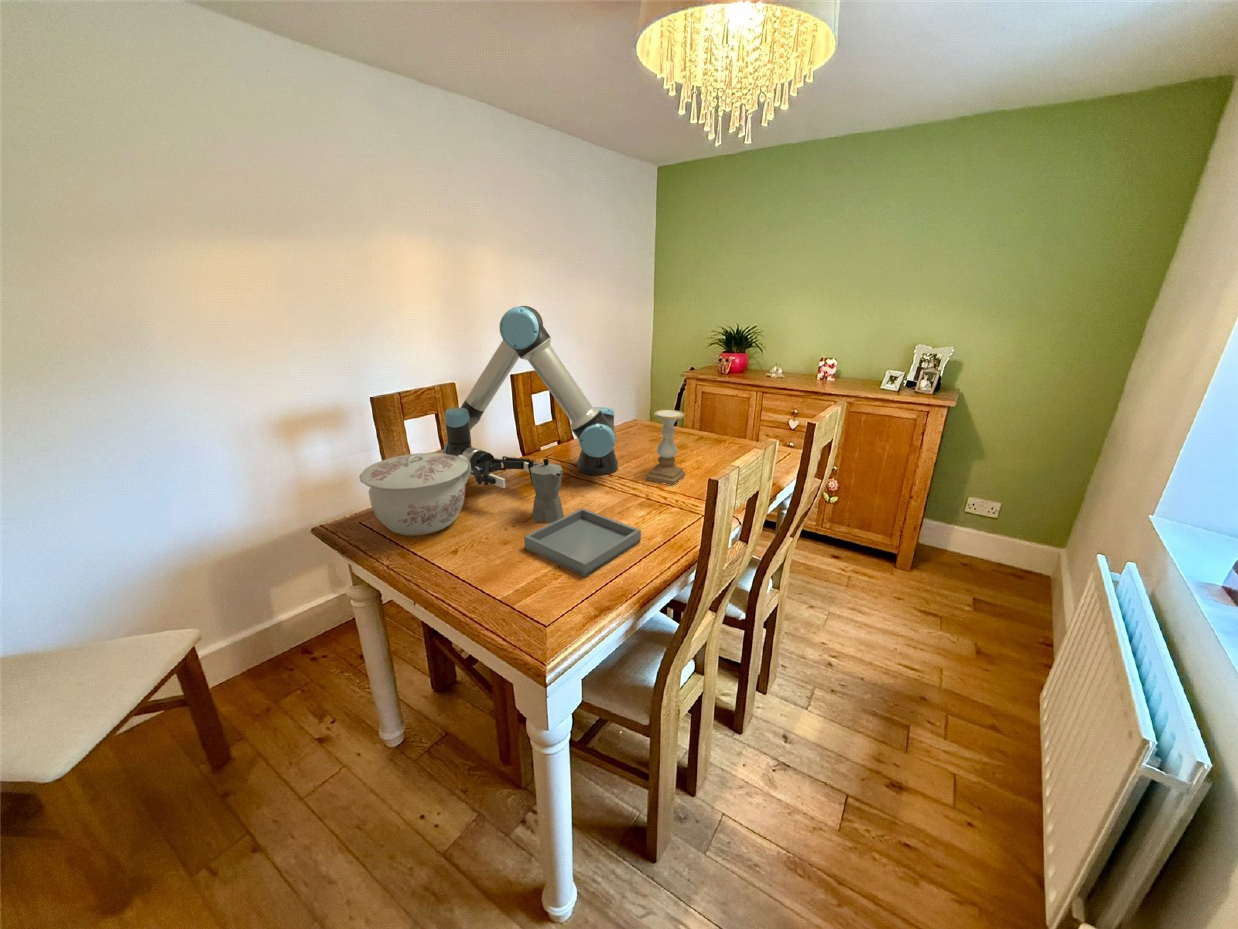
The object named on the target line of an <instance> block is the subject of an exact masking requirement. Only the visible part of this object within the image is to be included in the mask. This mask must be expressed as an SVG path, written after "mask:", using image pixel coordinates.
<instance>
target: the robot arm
mask: <svg viewBox="0 0 1238 929" xmlns="http://www.w3.org/2000/svg"><path fill="white" fill-rule="evenodd" d="M499 334H500V337H501V338H502V341H501V343H500V344H499V346H498V347H497V348H496V351H495V352H494V354H493V355H492V356H491V358H490V360H489V361H488V363H487V365H486V366H485V368H484V370H483V371H482V372H481V374H480V376H479V377H478V379H477V380H476V382H475V384H474V385H473V387H472V389H471V390H470V392H469V393H468V395H467V397H466V398H465V400H464V401H463V402H462V404H461V405H460V407H451V408H447V409H445V412H444V423H445V430H446V431H445V432H446V438H447V443H445V445H444V447H443V450H442V453H443V454H450V455H455V456H458V455H462V456H465V457H466V458H467V459H468V460H469V462H470V464H471V474H470V476H471V475H472V476H473V477H474V478H475V481H476V483H477V484H478V485H482V484H484V486H489V484H491V485H494V486H496V487H499V488H502V489H505V488H506V479H505V478H503V477H500V476H499V475H498V476H497V475H495V474H493V473H495V472H499V471H506V470H524V472H527V473H529V469H528V464H529V462H530V461H531V459H530V458H520V457H511V456H510V457H509V456H506V455H504V456H501V457H502V458H495V457H494V455H493V454H492V453H490V452H488V451H486V450H485V451H484V450H482V449H479V448H476V447H473V446H472V436H471V434H472V433H471V430H472V429H473V428H474V427H475V426H476V425H477V424H478V423H479V422H480V421H481V418H482V416H483V414H484V413H485V411H486V410H487V408H488V407H489V404H490V403H491V402H492V400H493V398H495V396H496V394H497V393H498V391H499V389H500V388H501V386H502V385H503V384H504V382H505V380H506V379H507V377H508V375H510V372H511V371H512V370H513V368H514V366H515V364H516V363H517V362H518V360H519V359H521V360H525V361H528V363H529V364H530V366H531V367H532V368H533V370H534V372H536V374H537V376H538V377H539V379H541V381H542V382H543V384H544V385H545V386H546V388H547V390H548V391H549V392H550V393H551V395H552V396H553V398H554V399H555V401H556V402H557V404H558V405H559V407H560V408H561V410H562V411H563V413H564V414H566V416H567V418H568V419H569V420H570V430H571V431H572V433H573V434H574V435H575V437H576V439H577V440H578V442H579V447H580V448H581V450H580V453H579V456H578V457H579V458H578V460H577V470H578V471H579V472H581V473H583V474H587V475H591V476H604V475H610V474H612V473H615V472H617V471H618V470H619V461H618V459H617V456H616V453H615V449H614V447H615V444H616V441H617V440H616V439H617V437H616V433H615V411H614V409H613V408H611V407H607V406H606V407H605V406H593V405H592V404H591V402H590V401H589V399H588V398H587V397H586V395H585V394H584V392H583V391H582V389H581V388H580V386H579V385H578V384H577V382H576V380H575V379H574V378H573V376H572V375H571V373H570V371H569V370H568V369H567V368H566V365H564V363H563V362H562V360H561V358H560V357H559V356H558V354H557V353H556V351H555V350H554V349H553V346H551V340H552V337H551V335H550V334H549V332H548V331H547V330H546V328H545V326H544V322H543V317H542V316H541V314H540V312H539V311H537V309H535V308H533V307H531V306H528V305H520V306H515V307H512V308H510V309H508V310H507V311H506V312H505V313H504V314H503V315H502V317H501V319H500V322H499Z"/></svg>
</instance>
